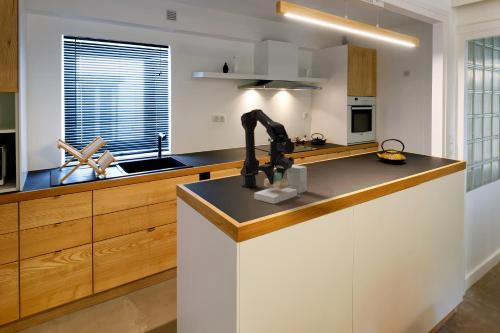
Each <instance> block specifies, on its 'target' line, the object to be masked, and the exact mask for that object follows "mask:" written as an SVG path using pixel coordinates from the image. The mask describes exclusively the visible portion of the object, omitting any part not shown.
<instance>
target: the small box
mask: <svg viewBox="0 0 500 333" xmlns="http://www.w3.org/2000/svg"><path fill="white" fill-rule="evenodd" d="M307 169H308V167H307V166H304V165H303V166H302V165H298V164H293V165H292V167H291V168H289V169H287V170H286V172H287V173H286V176H287V177H286V180H288V187H287V188H291V189H296V190H297V194H302V193H305V192H307V184H308V183H307V178H308V174H307V173H308V171H307Z"/></svg>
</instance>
